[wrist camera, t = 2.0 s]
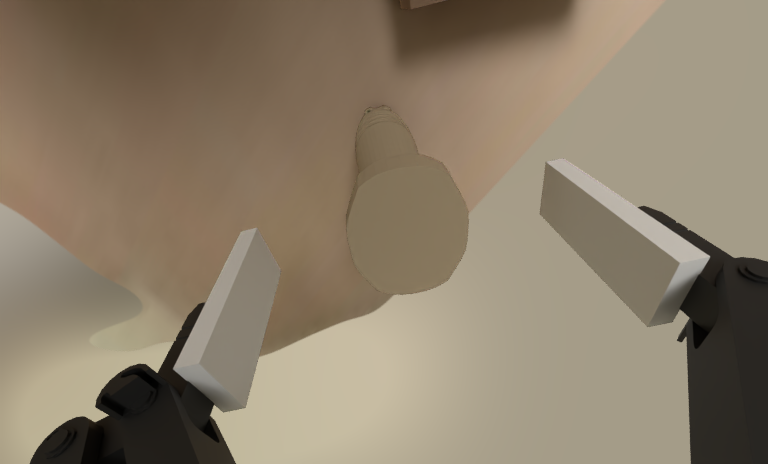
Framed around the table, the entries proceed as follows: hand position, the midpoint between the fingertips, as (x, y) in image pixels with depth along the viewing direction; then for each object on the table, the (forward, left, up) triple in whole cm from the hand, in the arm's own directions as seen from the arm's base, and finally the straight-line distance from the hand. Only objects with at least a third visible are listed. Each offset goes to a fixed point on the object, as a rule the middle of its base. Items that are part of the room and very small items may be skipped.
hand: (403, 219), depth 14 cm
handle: (0, 0, -13) cm, 13 cm away
